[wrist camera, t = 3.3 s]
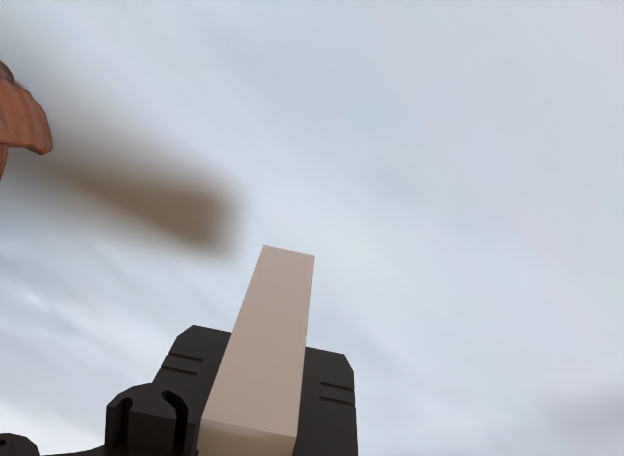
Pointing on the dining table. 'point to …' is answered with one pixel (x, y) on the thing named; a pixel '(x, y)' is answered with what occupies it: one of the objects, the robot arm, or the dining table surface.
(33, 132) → the pottery mug
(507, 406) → the dining table surface
